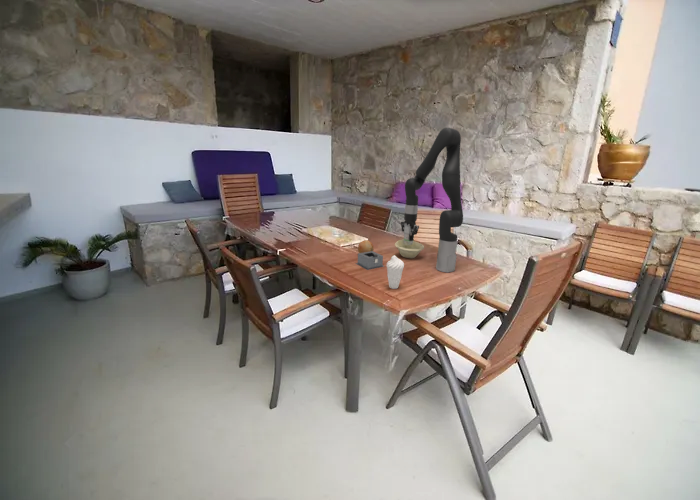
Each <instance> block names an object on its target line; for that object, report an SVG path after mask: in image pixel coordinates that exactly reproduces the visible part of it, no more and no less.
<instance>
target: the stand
mask: <svg viewBox="0 0 700 500" xmlns="http://www.w3.org/2000/svg"><path fill="white" fill-rule="evenodd" d="M383 261H384V255H382V254H380V253H378V252H375V251H374V250H373V251H370V252H364V253H359V252H358V253H357V262H355V265H357V266H358V267H359V266H360V267H361V268H363V269H364V270H366V271H369V270H374V269H378V268H385V265H384V263H383Z"/></svg>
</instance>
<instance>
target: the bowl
mask: <svg viewBox="0 0 700 500" xmlns="http://www.w3.org/2000/svg"><path fill="white" fill-rule="evenodd" d="M403 243H404V240H403V239H399V240H397V241H396V242H395V243H394V246H395V247H396V249H397V251H398V252H399V255H400V256H402V258H406V259H415V258H416V257H417V256H418V255H419V254H420V252H421V251H423V250H424V249H425V246H424V244H422V243H420V242H418V241H415V240H414V241H413V245H405V244H403Z"/></svg>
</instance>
